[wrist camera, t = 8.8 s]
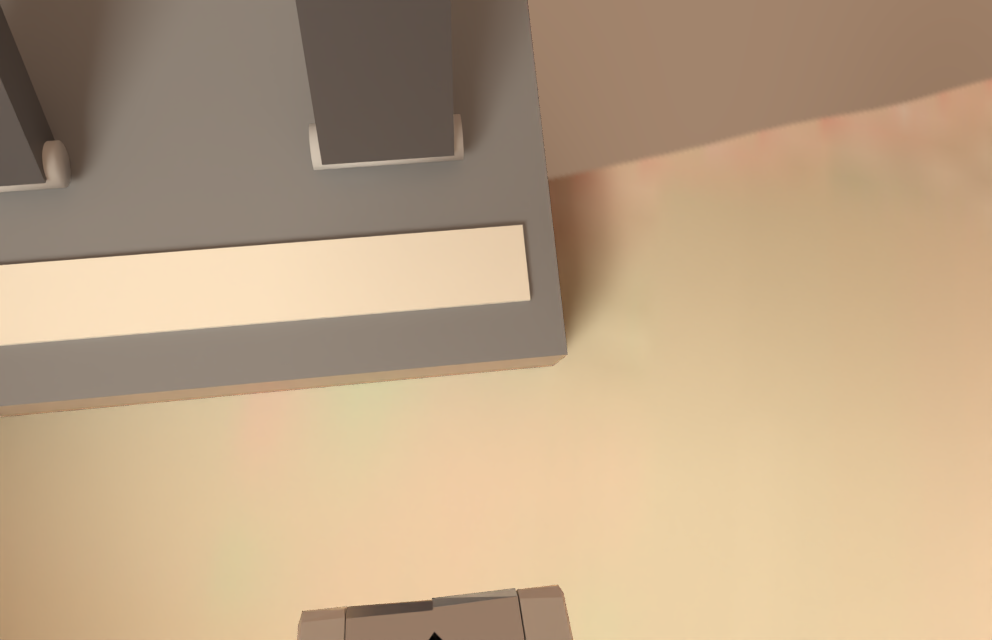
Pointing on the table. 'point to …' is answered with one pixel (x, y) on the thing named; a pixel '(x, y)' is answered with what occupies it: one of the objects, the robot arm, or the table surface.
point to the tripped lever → (380, 82)
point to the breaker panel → (262, 216)
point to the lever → (25, 128)
